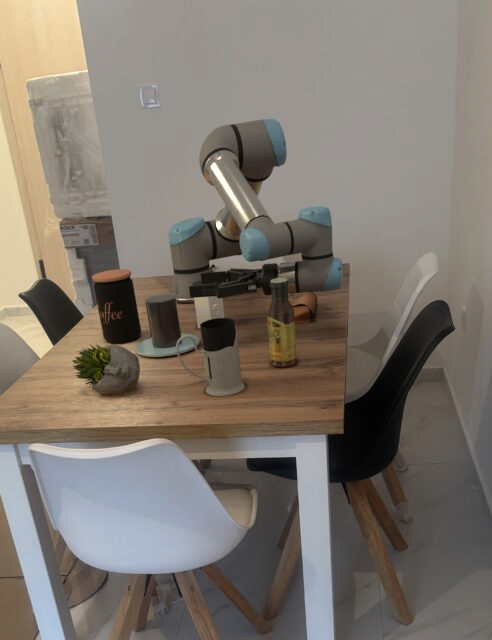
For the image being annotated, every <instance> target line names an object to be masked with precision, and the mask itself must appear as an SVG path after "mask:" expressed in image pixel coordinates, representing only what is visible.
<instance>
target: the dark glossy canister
mask: <svg viewBox="0 0 492 640" xmlns="http://www.w3.org/2000/svg"><path fill="white" fill-rule="evenodd" d="M144 302H145V308H146V309H145V310H146V313H147V320H148V326H149V333H150V338H151V339H152V345H153V347H155V348H171V347H175V346H176V344H177V341H178V340H179V339H180V338H181V337H182V334H183V333H182V329H181V328H182V327H181V322H180V321H181V320H180V314H179V307H178V302H177V300H176V296H175V295H173V294H171V293H162V294H156V295H151V296H149V297H147V298H145V300H144ZM181 343H182V340H181V341H180V342H179V345H180V344H181Z"/></svg>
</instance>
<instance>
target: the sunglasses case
mask: <svg viewBox="0 0 492 640" xmlns="http://www.w3.org/2000/svg"><path fill="white" fill-rule="evenodd" d="M290 303H291V305H292V306H293V309H294V320H295V324H307V323H311V322H312V321H314V320H315V316H316V311H317V304H318V296H317V294H316V292H305V293H304V294H303V295H302V296H300V297H299V298H298V299H296V300H295V301H292V302H290Z"/></svg>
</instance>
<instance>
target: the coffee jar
mask: <svg viewBox="0 0 492 640" xmlns="http://www.w3.org/2000/svg"><path fill="white" fill-rule="evenodd" d="M131 276H132V270H130V269H127V268H126V269H125V268H116V269H109V270H104V271H101V272H97V273H95V274H93V275H92V276H91V279H92V281H93V282H94V285H93V291H94V296H95V301H96V306H97V311H98V315H99V316H98V317H99V320H100V321H99V322H100V326H101V332H102V336H103V339H104V341H106V342H107V344H110V345H119V344H120V345H121V344H127V343H131V342H134V341H136V340H138V339H139V338H140V336H141V335H142V327H141V322H140V317H139V310H138V303H137V298H136V293H135V286H134V282H133V279H132V278H131Z"/></svg>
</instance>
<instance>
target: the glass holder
mask: <svg viewBox="0 0 492 640" xmlns="http://www.w3.org/2000/svg"><path fill="white" fill-rule="evenodd" d="M200 328H201V329H200V335H201V342H202V350H198V346H197V345H196V342H195V340H194V339H193V338H192V337H190V336H183V337H181V338H180V339H179V340H178V341H177V344H176V350H177V354H176V355H177V358H178V360H179V362H180V364H181V365H182V367H183V368H184V369H185V370H186V371H187V372H189V373H190V374H191V375H194V376H196V377H198V378H199V379H201V380H203V381H204V382H205V386H206V389H205V393H206V394H208V395H210V396H214V397H226V396H227V397H228V396H231V395H235V394H238V393H240V392H242V391H243V390H245V388H246V387H245V384H244V382H243V378H242V368H241V360H240V350H239V342H238V333H237V329H236V322H235V319H234V318H230V317H225V318H216V319H211V320H207V321H205V322H202V323H201V324H200ZM183 338H190V339H191V340H192V341H193V342H194V346H195V348H194V351H195V352H196V353H197V354H202V356H203V364H204V373H205V378H204V377H203V376H201V375H199V374H197V373H195V372H194V371H192V370H191V369H189V368H188V367H187V366H186V365H185V363H184V361H183V360H182V357H181V355H180V354H181V353H180V354H179V350H178V345H179V342H180V341H181V340H182V339H183Z"/></svg>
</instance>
